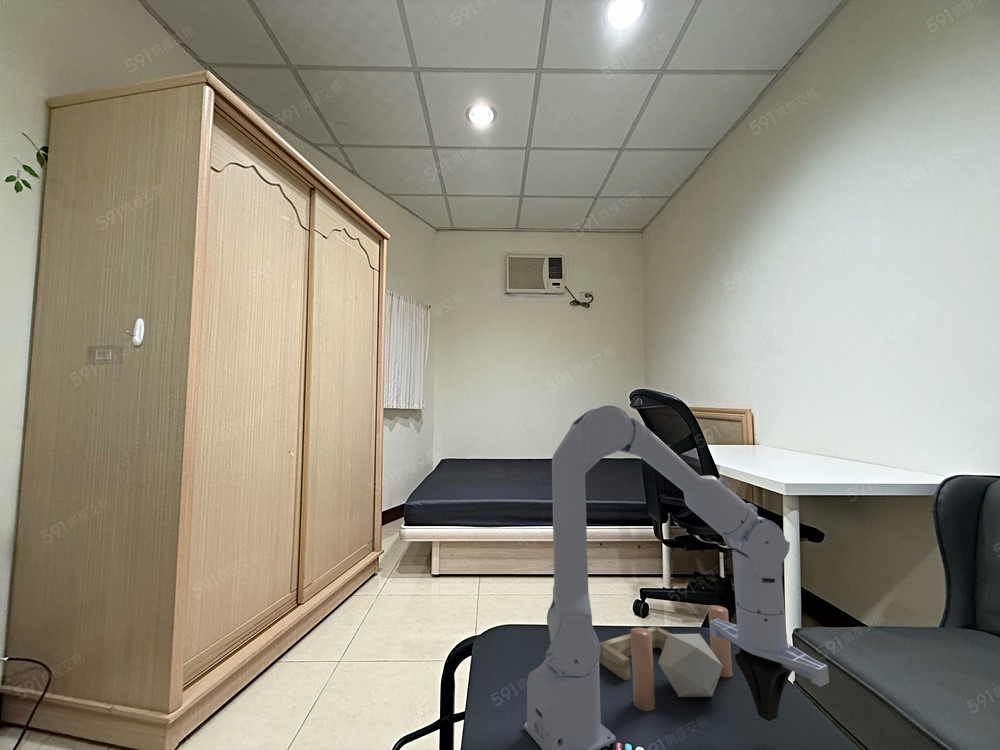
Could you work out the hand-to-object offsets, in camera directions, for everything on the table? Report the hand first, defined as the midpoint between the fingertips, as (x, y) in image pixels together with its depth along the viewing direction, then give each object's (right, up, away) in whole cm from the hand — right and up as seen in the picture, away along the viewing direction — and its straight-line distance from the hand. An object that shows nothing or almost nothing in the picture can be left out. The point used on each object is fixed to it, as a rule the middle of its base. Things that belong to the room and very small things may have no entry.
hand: (767, 716), depth 55 cm
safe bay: (-10, -6, +19) cm, 22 cm away
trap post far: (+2, -5, +15) cm, 16 cm away
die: (-5, -5, +10) cm, 12 cm away
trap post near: (-14, -4, +7) cm, 16 cm away
